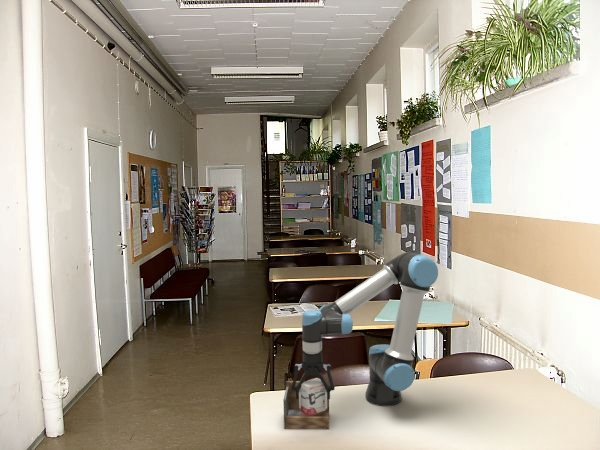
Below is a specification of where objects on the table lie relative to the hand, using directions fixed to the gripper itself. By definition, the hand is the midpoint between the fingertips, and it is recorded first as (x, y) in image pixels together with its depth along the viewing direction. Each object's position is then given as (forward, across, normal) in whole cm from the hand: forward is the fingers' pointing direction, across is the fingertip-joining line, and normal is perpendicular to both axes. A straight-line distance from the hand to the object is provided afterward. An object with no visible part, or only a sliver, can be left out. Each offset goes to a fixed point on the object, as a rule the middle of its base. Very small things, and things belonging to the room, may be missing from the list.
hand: (313, 407), depth 197 cm
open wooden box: (+6, +2, 0) cm, 6 cm away
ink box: (+2, 0, 0) cm, 2 cm away
